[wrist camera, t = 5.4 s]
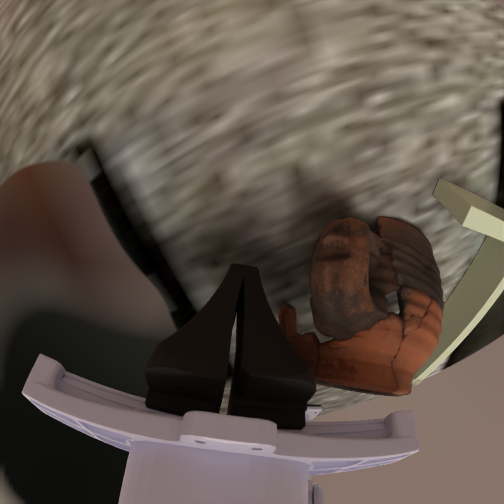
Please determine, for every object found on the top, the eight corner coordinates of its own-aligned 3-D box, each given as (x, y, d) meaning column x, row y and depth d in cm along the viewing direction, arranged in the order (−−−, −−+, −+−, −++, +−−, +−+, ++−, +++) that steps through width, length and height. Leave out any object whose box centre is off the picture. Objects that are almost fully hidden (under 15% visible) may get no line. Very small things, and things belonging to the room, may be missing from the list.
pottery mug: (443, 281, 16) (429, 401, 12) (327, 281, 22) (301, 382, 18) (432, 139, 8) (438, 386, 4) (238, 178, 14) (172, 334, 10)
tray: (408, 356, 20) (416, 384, 18) (340, 355, 20) (345, 388, 18) (508, 211, 11) (534, 238, 9) (439, 177, 11) (471, 206, 9)
